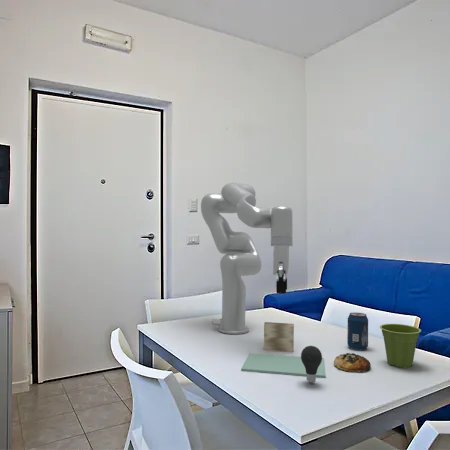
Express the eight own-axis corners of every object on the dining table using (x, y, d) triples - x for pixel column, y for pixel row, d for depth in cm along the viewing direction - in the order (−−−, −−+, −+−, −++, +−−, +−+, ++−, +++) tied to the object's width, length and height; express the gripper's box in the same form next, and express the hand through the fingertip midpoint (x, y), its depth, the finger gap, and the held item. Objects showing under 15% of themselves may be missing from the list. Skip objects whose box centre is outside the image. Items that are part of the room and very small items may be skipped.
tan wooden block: (263, 349, 142) (264, 323, 142) (264, 347, 144) (264, 322, 144) (293, 352, 139) (293, 325, 140) (293, 349, 142) (293, 323, 142)
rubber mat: (241, 370, 120) (241, 368, 120) (249, 354, 136) (249, 352, 136) (325, 377, 115) (325, 375, 115) (324, 360, 131) (324, 358, 131)
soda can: (350, 344, 150) (350, 311, 150) (369, 347, 146) (370, 313, 146) (345, 348, 144) (345, 314, 144) (365, 352, 140) (365, 317, 140)
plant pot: (371, 360, 131) (371, 325, 132) (400, 356, 136) (400, 322, 136) (399, 372, 120) (399, 334, 120) (429, 368, 125) (430, 331, 125)
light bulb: (298, 379, 114) (298, 343, 114) (318, 379, 114) (318, 343, 114) (303, 387, 108) (304, 349, 108) (324, 386, 108) (325, 348, 109)
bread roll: (379, 369, 123) (377, 352, 123) (352, 380, 118) (350, 363, 118) (351, 360, 133) (349, 344, 133) (325, 370, 127) (323, 354, 127)
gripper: (272, 241, 153) (272, 288, 152) (268, 242, 136) (269, 294, 135) (293, 241, 151) (293, 288, 151) (291, 242, 134) (292, 294, 134)
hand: (281, 291), depth 143 cm, fingers open, 9 cm apart
